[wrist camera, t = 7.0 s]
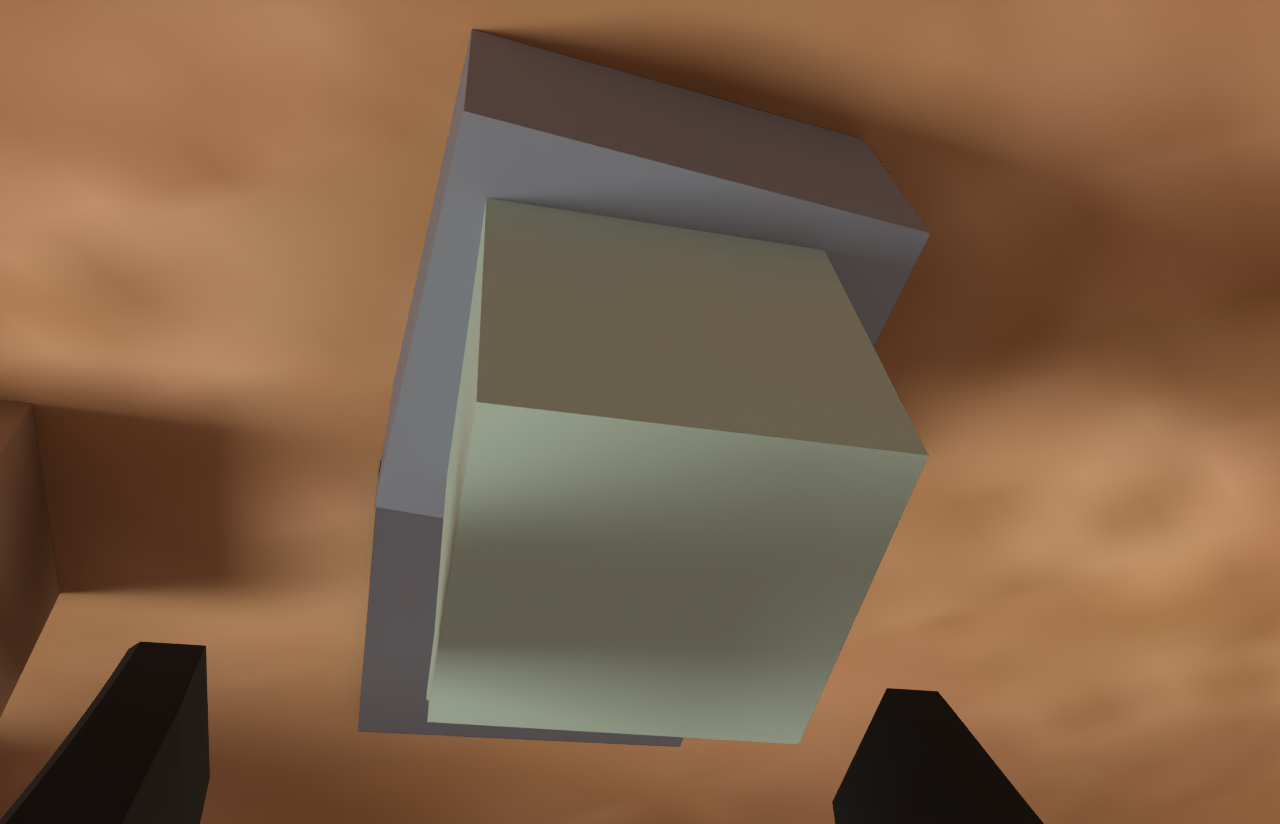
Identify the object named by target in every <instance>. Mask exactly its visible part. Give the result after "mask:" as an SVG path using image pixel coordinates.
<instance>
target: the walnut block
mask: <svg viewBox="0 0 1280 824" xmlns="http://www.w3.org/2000/svg"><path fill="white" fill-rule="evenodd" d="M59 594H60V591H59V584H58V577H57V571H56V564H55V557H54V550H53V543H52V537H51V530H50V523H49V516H48V509H47V502H46V496H45V489H44V482H43V475H42V468H41V462H40V455H39V448H38V441H37V434H36V427H35V421H34V414H33V407H32V404H31V403H20V402H10V401H0V717H1V715H2V713H3V711H4V709H5V707H6V705H7V703H8V700H9V698H10V696H11V694H12V692H13V690H14V688H15V686H16V684H17V682H18V680H19V677H20V675H21V673H22V671H23V669H24V667H25V665H26V663H27V661H28V659H29V657H30V655H31V652H32V650H33V648H34V646H35V644H36V642H37V640H38V638H39V636H40V634H41V632H42V629H43V627H44V625H45V623H46V621H47V619H48V617H49V615H50V613H51V611H52V609H53V607H54V604H55V602H56V600H57V598H58V596H59Z"/></svg>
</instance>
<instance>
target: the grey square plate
mask: <svg viewBox="0 0 1280 824" xmlns="http://www.w3.org/2000/svg"><path fill="white" fill-rule="evenodd" d="M381 461H382V460H381ZM381 461H380V468H381ZM380 468H379V474H380ZM378 481H379V475H378ZM443 519H444V518H439V517H433V516H427V515H421V514H415V513H409V512H403V511H397V510H391V509H385V508H380V507H376V513H375V526H374V538H373V551H372V563H371V576H370V589H369V601H368V614H367V626H366V639H365V651H364V664H363V676H362V689H361V702H360V714H359V727H358V731H360V732H381V733H402V734H422V735H443V736H464V737H484V738H505V739H526V740H546V741H567V742H588V743H609V744H629V745H650V746H671V747H680V745H681V742H682V739H683V737H670V736H653V735H637V734H620V733H603V732H587V731H570V730H553V729H537V728H520V727H503V726H487V725H470V724H453V723H437V722H427V719H428V706H429V694H430V681H431V669H432V656H433V644H434V631H435V619H436V606H437V594H438V581H439V569H440V556H441V544H442V531H443Z"/></svg>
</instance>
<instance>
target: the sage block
mask: <svg viewBox="0 0 1280 824" xmlns="http://www.w3.org/2000/svg"><path fill="white" fill-rule="evenodd" d="M928 456H929V455H928V453H927V451H926V449H925V447H924V445H923V443H922V441H921V439H920V438H919V436H918V434H917V432H916V430H915V428H914V426H913V424H912V422H911V420H910V418H909V416H908V414H907V412H906V410H905V408H904V406H903V404H902V402H901V400H900V398H899V396H898V394H897V392H896V390H895V388H894V386H893V384H892V383H891V381H890V379H889V377H888V375H887V373H886V371H885V369H884V367H883V365H882V363H881V361H880V359H879V357H878V355H877V353H876V351H875V349H874V347H873V345H872V343H871V341H870V339H869V337H868V335H867V333H866V331H865V329H864V327H863V326H862V324H861V322H860V320H859V318H858V316H857V314H856V312H855V310H854V308H853V306H852V304H851V302H850V300H849V298H848V296H847V294H846V292H845V290H844V288H843V286H842V284H841V282H840V280H839V278H838V276H837V274H836V272H835V271H834V269H833V267H832V265H831V263H830V261H829V259H828V257H827V255H826V253H825V251H824V250H820V249H814V248H807V247H801V246H795V245H788V244H782V243H775V242H769V241H762V240H756V239H749V238H743V237H737V236H730V235H724V234H717V233H711V232H704V231H698V230H691V229H685V228H679V227H672V226H666V225H659V224H653V223H646V222H640V221H633V220H627V219H621V218H614V217H608V216H601V215H595V214H588V213H582V212H575V211H569V210H562V209H556V208H550V207H543V206H537V205H530V204H524V203H517V202H511V201H504V200H498V199H491V198H486V204H485V211H484V218H483V225H482V232H481V239H480V246H479V253H478V260H477V267H476V274H475V282H474V289H473V296H472V303H471V310H470V317H469V324H468V331H467V338H466V345H465V352H464V359H463V366H462V373H461V380H460V387H459V394H458V402H457V409H456V416H455V423H454V430H453V437H452V444H451V451H450V458H449V465H448V472H447V481H446V494H445V506H444V519H443V531H442V544H441V556H440V569H439V581H438V594H437V606H436V619H435V631H434V644H433V656H432V669H431V681H430V694H429V706H428V719H427V722H437V723H453V724H470V725H487V726H503V727H520V728H537V729H553V730H570V731H587V732H603V733H620V734H637V735H653V736H670V737H686V738H703V739H720V740H736V741H753V742H770V743H786V744H799V743H800V740H801V738H802V736H803V734H804V731H805V729H806V727H807V725H808V723H809V720H810V718H811V716H812V714H813V711H814V709H815V707H816V705H817V703H818V700H819V698H820V696H821V694H822V691H823V689H824V687H825V685H826V683H827V680H828V678H829V676H830V674H831V671H832V669H833V667H834V665H835V662H836V660H837V658H838V656H839V654H840V651H841V649H842V647H843V645H844V642H845V640H846V638H847V636H848V634H849V631H850V629H851V627H852V625H853V622H854V620H855V618H856V616H857V614H858V611H859V609H860V607H861V605H862V602H863V600H864V598H865V596H866V594H867V591H868V589H869V587H870V585H871V582H872V580H873V578H874V576H875V574H876V571H877V569H878V567H879V565H880V562H881V560H882V558H883V556H884V554H885V551H886V549H887V547H888V545H889V542H890V540H891V538H892V536H893V534H894V531H895V529H896V527H897V525H898V522H899V520H900V518H901V516H902V514H903V511H904V509H905V507H906V505H907V502H908V500H909V498H910V496H911V494H912V491H913V489H914V487H915V485H916V482H917V480H918V478H919V476H920V474H921V471H922V469H923V467H924V465H925V462H926V460H927V458H928Z"/></svg>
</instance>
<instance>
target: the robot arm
mask: <svg viewBox="0 0 1280 824" xmlns="http://www.w3.org/2000/svg"><path fill="white" fill-rule="evenodd" d="M209 778H210V771H209V737H208V702H207V668H206V646H202V645H186V644H170V643H154V642H139V643H138V644H136V645H134V646H133V647H131V648H130V649H128V651H127V652H126V654H125V655H124V657H123V658H122V660H121V662H120V663H119V665H118V666H117V668H116V669H115V671H114V672H113V674H112V675H111V677H110V678H109V679H108V681H107V682H106V684H105V685H104V687H103V688H102V690H101V691H100V692H99V694H98V695H97V697H96V698H95V699H94V701H93V702H92V704H91V705H90V706H89V708H88V709H87V711H86V712H85V713H84V715H83V716H82V717H81V719H80V720H79V721H78V723H77V724H76V726H75V727H74V728H73V730H72V731H71V732H70V733H69V735H68V736H67V737H66V739H65V740H64V741H63V743H62V744H61V745H60V747H59V748H58V749H57V750H56V752H55V753H54V754H53V756H52V757H51V758H50V760H49V761H48V762H47V764H46V765H45V766H44V767H43V769H42V770H41V771H40V772H39V773H38V775H37V776H36V777H35V778H34V780H33V781H32V782H31V783H30V784H29V786H28V787H27V788H26V789H25V791H24V792H23V793H22V794H21V795H20V797H19V798H18V799H17V800H16V802H15V803H14V804H13V805H12V806H11V808H10V809H9V810H8V811H7V813H6V814H5V815H4V816H3V818H2V819H1V820H0V824H200V821H201V816H202V811H203V807H204V802H205V797H206V792H207V788H208V783H209ZM832 803H833V810H834V817H835V824H1044V823H1043V822H1042V821H1041V820H1040V819H1039V817H1038V816H1037V815H1036V814H1035V812H1034V811H1033V810H1032V809H1031V807H1030V806H1029V805H1028V804H1027V803H1026V801H1025V800H1024V799H1023V797H1022V796H1021V795H1020V794H1019V792H1018V791H1017V790H1016V789H1015V787H1014V786H1013V785H1012V784H1011V782H1010V781H1009V780H1008V779H1007V777H1006V776H1005V775H1004V774H1003V772H1002V771H1001V770H1000V769H999V767H998V766H997V765H996V764H995V762H994V761H993V760H992V759H991V757H990V756H989V755H988V754H987V752H986V751H985V750H984V748H983V747H982V746H981V745H980V743H979V742H978V741H977V740H976V738H975V737H974V736H973V735H972V733H971V732H970V731H969V730H968V728H967V727H966V726H965V724H964V723H963V722H962V721H961V719H960V718H959V717H958V716H957V714H956V713H955V712H954V711H953V710H952V708H951V707H950V706H949V705H948V703H947V702H946V701H945V700H944V699H943V697H942V696H941V695H940V694H939V692H938V691H923V690H907V689H890V688H887V689H886V691H885V693H884V696H883V698H882V700H881V702H880V704H879V706H878V708H877V710H876V712H875V714H874V716H873V718H872V721H871V723H870V725H869V727H868V729H867V731H866V733H865V735H864V737H863V739H862V741H861V743H860V746H859V748H858V750H857V752H856V754H855V756H854V758H853V760H852V762H851V764H850V766H849V768H848V771H847V773H846V775H845V777H844V779H843V781H842V783H841V785H840V787H839V789H838V791H837V793H836V796H835V798H834V800H833V802H832Z"/></svg>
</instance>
